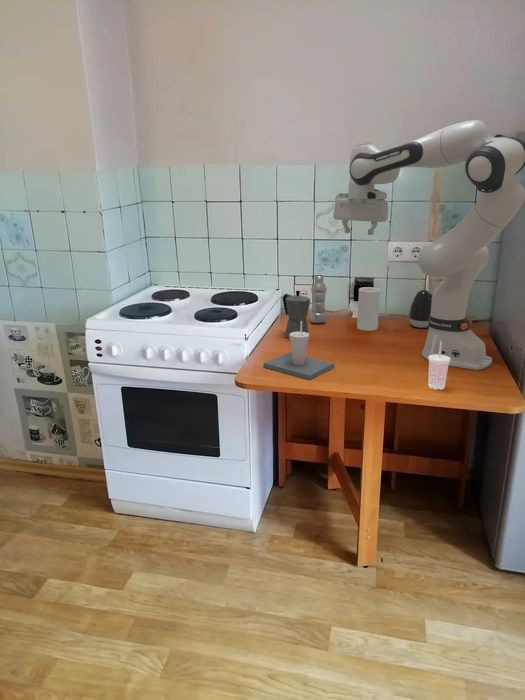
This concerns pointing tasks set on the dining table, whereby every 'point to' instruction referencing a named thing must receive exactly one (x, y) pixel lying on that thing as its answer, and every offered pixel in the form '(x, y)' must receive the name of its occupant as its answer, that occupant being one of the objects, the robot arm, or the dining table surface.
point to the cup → (368, 308)
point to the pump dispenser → (420, 309)
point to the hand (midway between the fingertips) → (358, 233)
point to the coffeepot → (296, 312)
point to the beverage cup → (438, 370)
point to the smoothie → (299, 346)
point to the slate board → (299, 366)
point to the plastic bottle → (318, 300)
